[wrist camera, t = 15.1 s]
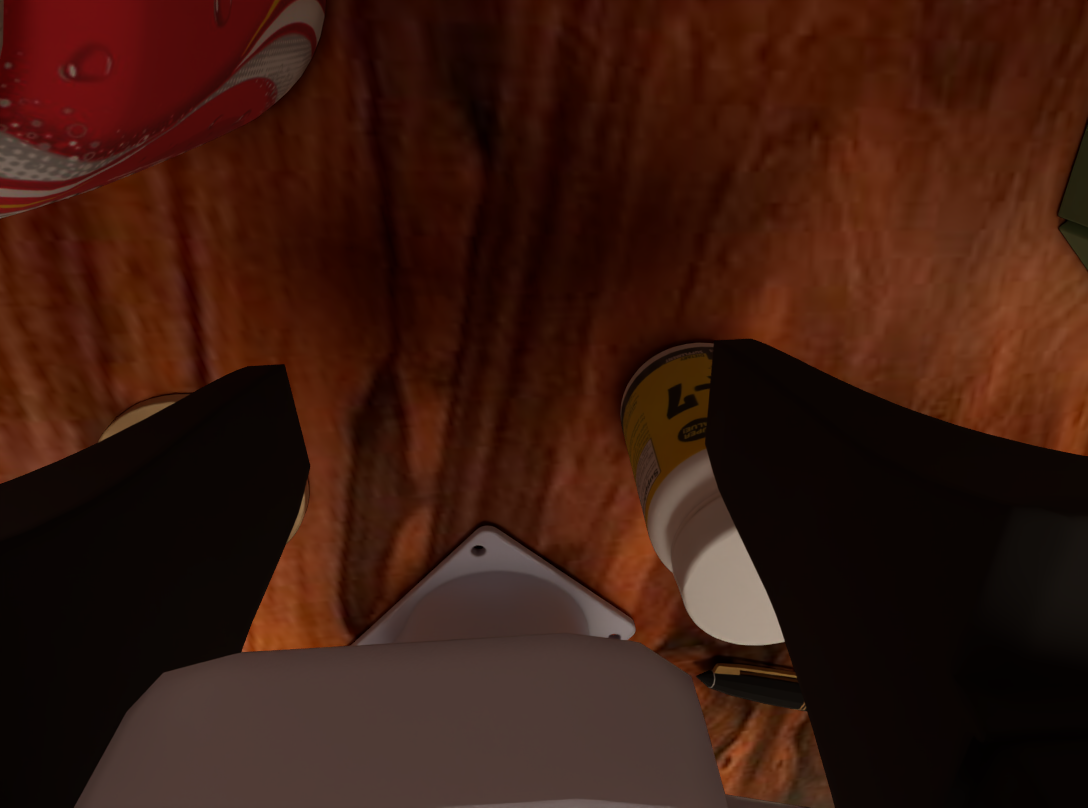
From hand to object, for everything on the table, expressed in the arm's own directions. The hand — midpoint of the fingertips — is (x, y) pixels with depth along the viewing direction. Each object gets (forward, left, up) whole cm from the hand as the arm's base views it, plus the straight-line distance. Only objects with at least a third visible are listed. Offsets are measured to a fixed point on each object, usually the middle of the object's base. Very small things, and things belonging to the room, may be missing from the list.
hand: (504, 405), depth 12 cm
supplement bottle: (0, -8, -10) cm, 13 cm away
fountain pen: (-6, -25, -9) cm, 27 cm away
